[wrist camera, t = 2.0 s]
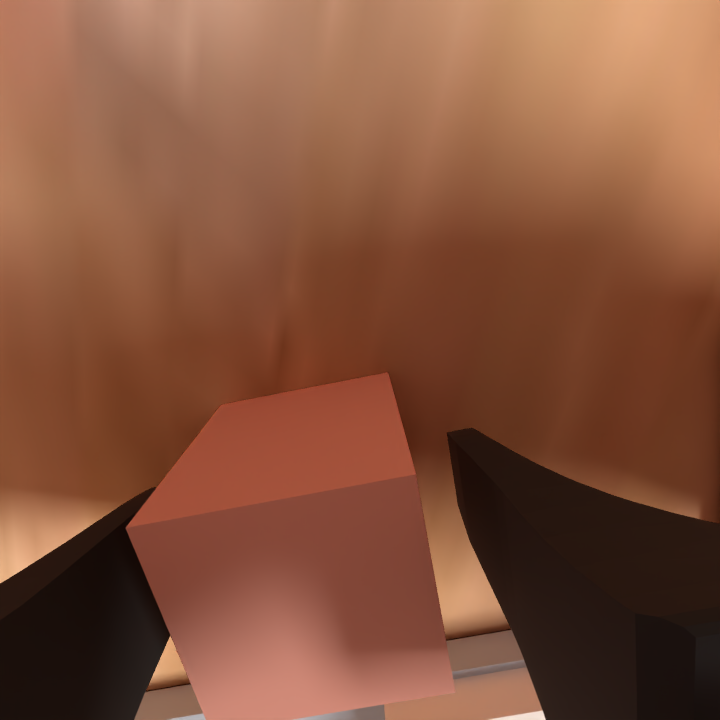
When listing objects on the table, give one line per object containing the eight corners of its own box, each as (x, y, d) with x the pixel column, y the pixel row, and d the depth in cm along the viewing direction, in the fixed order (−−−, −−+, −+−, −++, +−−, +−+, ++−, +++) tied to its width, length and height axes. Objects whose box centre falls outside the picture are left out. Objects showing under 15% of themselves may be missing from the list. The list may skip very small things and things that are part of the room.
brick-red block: (388, 371, 11) (415, 474, 6) (415, 515, 12) (455, 692, 8) (221, 403, 11) (125, 527, 6) (264, 542, 12) (211, 733, 8)
